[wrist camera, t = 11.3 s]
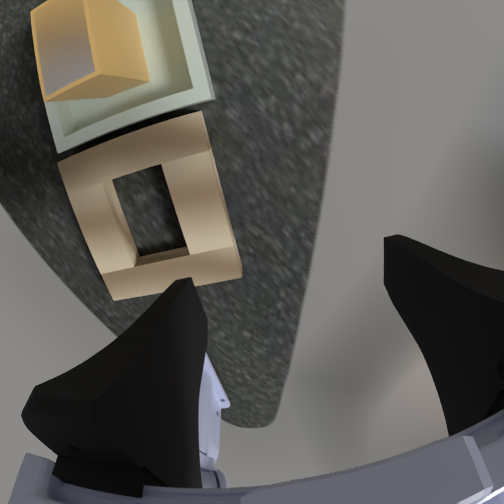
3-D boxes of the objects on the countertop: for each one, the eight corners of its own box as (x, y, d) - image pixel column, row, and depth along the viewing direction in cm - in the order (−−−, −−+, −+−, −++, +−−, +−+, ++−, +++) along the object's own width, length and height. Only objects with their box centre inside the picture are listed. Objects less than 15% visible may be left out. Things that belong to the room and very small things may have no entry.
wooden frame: (242, 266, 22) (242, 277, 21) (120, 289, 23) (113, 300, 22) (201, 110, 17) (198, 111, 16) (67, 158, 18) (56, 162, 17)
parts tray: (215, 99, 17) (211, 98, 15) (76, 146, 18) (57, 153, 15) (183, -33, 12) (175, -49, 10) (50, 25, 13) (30, 20, 11)
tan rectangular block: (150, 81, 16) (100, 73, 9) (107, 98, 16) (43, 102, 10) (135, 13, 13) (84, -21, 7) (93, 31, 14) (30, 11, 7)
